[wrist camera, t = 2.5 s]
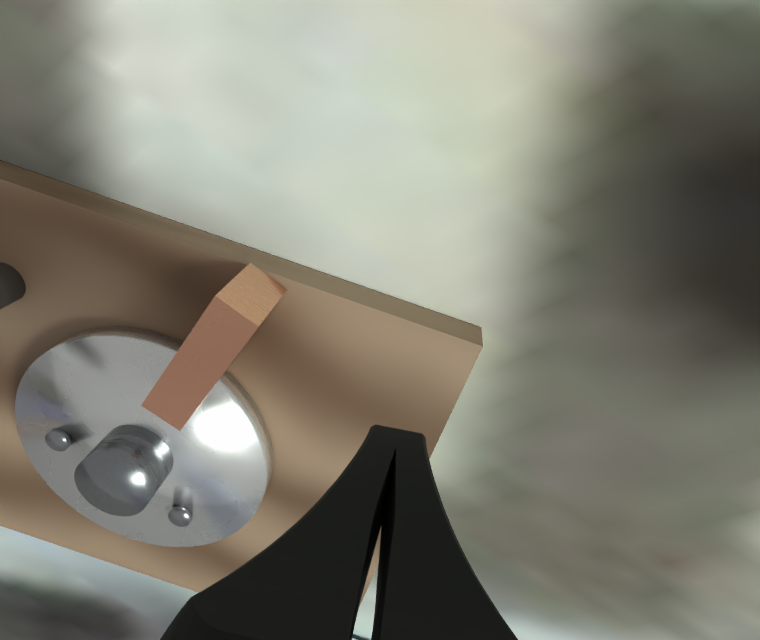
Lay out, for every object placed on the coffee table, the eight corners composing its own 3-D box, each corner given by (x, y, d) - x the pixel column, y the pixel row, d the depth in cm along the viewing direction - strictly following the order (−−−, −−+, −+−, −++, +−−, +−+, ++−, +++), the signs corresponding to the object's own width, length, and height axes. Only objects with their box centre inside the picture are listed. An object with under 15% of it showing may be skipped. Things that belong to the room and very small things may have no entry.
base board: (348, 614, 29) (327, 714, 24) (-51, 479, 28) (-146, 556, 24) (481, 327, 20) (487, 402, 16) (-90, 129, 20) (-249, 148, 15)
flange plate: (200, 563, 26) (170, 619, 23) (0, 441, 24) (-57, 487, 22) (389, 365, 20) (378, 412, 17) (135, 177, 18) (78, 197, 15)
